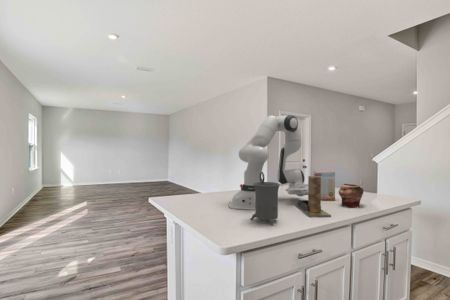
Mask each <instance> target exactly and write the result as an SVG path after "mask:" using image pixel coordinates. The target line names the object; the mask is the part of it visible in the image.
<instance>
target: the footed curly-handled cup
mask: <svg viewBox="0 0 450 300" xmlns="http://www.w3.org/2000/svg"><path fill="white" fill-rule="evenodd" d="M259 178H260V182H256V183H254V184H253V185H254V187H255V210H254V213H253V214H252V216H251V217H250V220H254V219H255V218H256V219H258V220H264V221H269V223H270V225H271V227H274V220H277V219H279V216H278V215H279V200H278V199H279V197H278V196H279V188H280V186H281V183H280V182H275V181H265V174H264V171H262V172H260V176H259Z"/></svg>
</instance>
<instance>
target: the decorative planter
mask: <svg viewBox="0 0 450 300" xmlns="http://www.w3.org/2000/svg"><path fill="white" fill-rule="evenodd" d="M338 194H339V196H340V198H341V205H342V206H344V207H348V208H358V207H360V204H361V200H362V198H363V194H364V188H362V187H361V185H359V184H358V185H357V184H349V183H343V184H342V185H341V186H340V189H339V190H338Z"/></svg>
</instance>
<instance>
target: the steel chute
mask: <svg viewBox="0 0 450 300" xmlns="http://www.w3.org/2000/svg"><path fill="white" fill-rule="evenodd" d="M295 207H296V208H297V209H298V210H299V211H300V212H302V213H303V214H304V215H306V216H307V217H309V218H332V215H331V214H330V213H328V212H326V210H323V209H321V212H311V211H309V206H308V199H307V200H306V199H300V200H299V199H298V204H295Z"/></svg>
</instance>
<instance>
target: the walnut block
mask: <svg viewBox="0 0 450 300" xmlns="http://www.w3.org/2000/svg"><path fill="white" fill-rule="evenodd" d="M307 179H308V183H307V185H308V195H307V196H308V197H307V200H308V206H309V211H311V212H321V210H322V204H321V203H322V200H321V177H318V176H312V175H310V176H309V175H308V178H307Z"/></svg>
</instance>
